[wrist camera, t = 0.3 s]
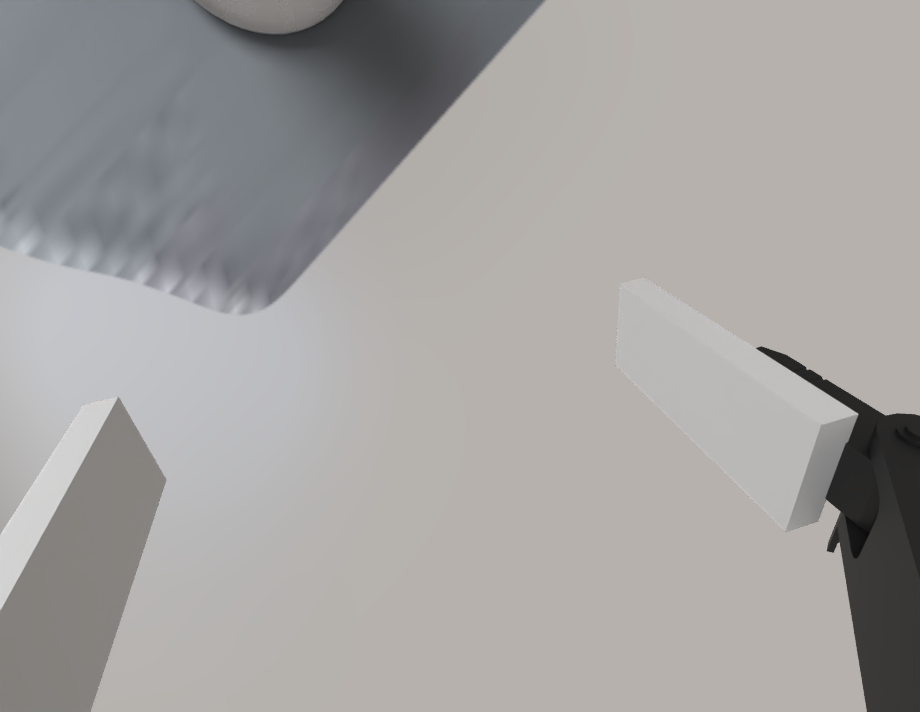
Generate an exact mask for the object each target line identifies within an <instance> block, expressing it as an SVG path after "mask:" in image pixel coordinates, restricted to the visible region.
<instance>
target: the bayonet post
mask: <svg viewBox="0 0 920 712" xmlns="http://www.w3.org/2000/svg"><path fill="white" fill-rule="evenodd" d="M194 1H195V2H197V3H198V4H199V5H200V6H202V7H203V8H205V9H206V10H207V11H209V12H210V13H212V14H213V15H215V16H217V17H218V18H220V19H222V20H224V21H226V22H228V23H230V24H232V25H234V26H237V27H239V28H242V29H244V30H248V31H252V32H256V33H260V34H270V35H281V34H291V33H295V32H300V31H303V30H305V29H308V28H311V27H313V26H314V25H316V24H318V23H320V22H321V21H323V20H324V19H325V18H327V17H328V16H329V15H330V14H332V13H333V12H334V11H335V10H336V9H337V7H338V6H339V5H340V4H341V3H342V2H343V0H194Z"/></svg>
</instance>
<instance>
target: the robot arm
mask: <svg viewBox="0 0 920 712" xmlns="http://www.w3.org/2000/svg"><path fill="white" fill-rule="evenodd" d="M615 363H616V364H615V366H616V367H617V368H618V369H619V370H620V371H621V372H622V373H623V374H625V375H626V376H627V377H628V378H629V379H630V380H631V381H632V382H633V383H634V384H635V385H636V386H637V387H638V388H639V389H640V390H641V391H642V392H643V393H644V394H645V395H646V396H647V397H648V398H649V399H650V400H651V401H652V402H653V403H654V404H655V405H656V406H657V407H658V408H659V409H660V410H661V411H662V412H663V413H664V414H666V416H667V417H668V418H669V419H670V420H672V421H673V422H674V423H675V424H676V425H677V426H678V427H679V428H680V429H681V430H682V431H683V432H684V433H685V434H686V435H687V436H688V437H689V438H690V439H691V440H692V441H693V442H694V443H695V444H696V445H697V446H698V447H699V448H700V449H701V450H702V451H703V452H704V453H705V454H706V455H707V456H708V457H709V458H710V459H711V460H712V461H713V462H714V463H716V464H717V466H718V467H719V468H720V469H722V470H723V472H725V473H726V474H727V475H728V476H729V477H730V478H731V479H732V480H733V481H734V482H735V483H736V484H737V485H738V486H739V487H740V488H741V489H742V490H743V491H744V492H745V493H746V494H747V495H748V496H749V497H750V498H751V499H752V500H753V501H754V502H755V503H756V504H757V505H758V506H759V507H760V508H761V509H762V510H763V511H764V512H765V513H766V514H767V515H768V516H770V518H771V519H772V520H773V521H775V522H776V523H777V524H778V525H779V526H780V527H781V528H782V529H783V530H784V531H785V532H788V531H791V530H794V529H797V528H800V527H803V526H806V525H809V524H812V523H815V522H818V520H819V518H820V515H821V512H822V510H823V507H824V504H825V502H826V499H827V500H828V501H829V502H830V503H831V504H832V505H834V506H835V507H836V508H837V509H838V510H840V511H841V513H840V515H839V517H838V520H837V522H836V525H835V527H834V530H833V532H832V535H831V537H830V540H829V542H828V547H827V551H829V552H834V550H835V548H836V545H837V543H839V542H840V547H841V553H842V558H843V565H844V572H845V578H846V584H847V590H848V596H849V603H850V609H851V615H852V621H853V627H854V634H855V640H856V646H857V652H858V659H859V665H860V671H861V677H862V683H863V689H864V696H865V702H866V708H867V712H920V416H918V415H914V414H892V415H887V416H885V415H884V414H882V413H880V412H879V411H877V410H875V409H873V408H872V407H870V406H869V405H867V404H866V403H864V402H862V401H861V400H859V399H857V398H856V397H854V396H853V395H851V394H849V393H848V392H846V391H844V390H843V389H841V388H839V387H837V386H836V385H834V384H833V383H831V382H829V381H828V380H823V379H822V377H821V376H820V375H818V374H816V373H815V372H813V371H812V370H807V369H806V367H805V366H803V365H802V364H800V363H799V362H797V361H795V360H794V359H792V358H790V357H788V356H787V355H785V354H782V353H779V352H776V351H773V350H770V349H767V348H764V347H758V348H754V347H753V346H751V345H749V344H748V343H746V342H745V341H743V340H742V339H740V338H738V337H737V336H735V335H734V334H732V333H731V332H729V331H727V330H726V329H724V328H723V327H721V326H720V325H718V324H717V323H715V322H713V321H712V320H710V319H709V318H707V317H706V316H704V315H702V314H701V313H699V312H697V311H696V310H695V309H693V308H691V307H690V306H688V305H687V304H685V303H684V302H682V301H680V300H679V299H677V298H676V297H674V296H673V295H671V294H669V293H668V292H666V291H665V290H663V289H662V288H660V287H659V286H657V285H655V284H654V283H652V282H651V281H649V280H647V279H646V278H641V279H636V280H632V281H627V282H623V283H620V289H619V309H618V326H617V344H616V362H615ZM165 483H166V478H165V476H164V475H163V473H162V471H161V469H160V468H159V466H158V464H157V463H156V461H155V459H154V457H153V456H152V454H151V452H150V451H149V449H148V447H147V445H146V443H145V442H144V440H143V438H142V437H141V435H140V433H139V431H138V430H137V428H136V426H135V425H134V423H133V421H132V419H131V418H130V416H129V414H128V412H127V411H126V409H125V407H124V405H123V404H122V402H121V400H120V398H119V397H115V398H111V399H106V400H101V401H97V402H93V403H88V404H84V405H83V406H82V408H81V410H80V411H79V413H78V414H77V416H76V418H75V419H74V421H73V422H72V424H71V425H70V427H69V428H68V430H67V431H66V433H65V435H64V436H63V438H62V439H61V441H60V442H59V444H58V446H57V447H56V449H55V450H54V452H53V453H52V455H51V456H50V458H49V460H48V461H47V463H46V464H45V466H44V468H43V469H42V471H41V472H40V474H39V475H38V477H37V478H36V480H35V481H34V483H33V485H32V486H31V488H30V489H29V491H28V492H27V494H26V496H25V497H24V499H23V500H22V502H21V503H20V505H19V506H18V508H17V510H16V511H15V513H14V514H13V516H12V518H11V519H10V521H9V522H8V524H7V525H6V527H5V528H4V530H3V532H2V533H1V535H0V712H90V711H91V708H92V705H93V702H94V699H95V696H96V693H97V690H98V687H99V684H100V681H101V678H102V674H103V672H104V668H105V665H106V663H107V660H108V656H109V653H110V650H111V647H112V644H113V641H114V638H115V635H116V632H117V629H118V626H119V623H120V620H121V617H122V613H123V611H124V607H125V605H126V601H127V599H128V595H129V592H130V589H131V586H132V583H133V580H134V577H135V574H136V571H137V568H138V565H139V562H140V559H141V556H142V553H143V549H144V547H145V544H146V540H147V538H148V534H149V531H150V528H151V525H152V522H153V519H154V516H155V513H156V510H157V507H158V504H159V501H160V498H161V495H162V492H163V488H164V485H165Z"/></svg>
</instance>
